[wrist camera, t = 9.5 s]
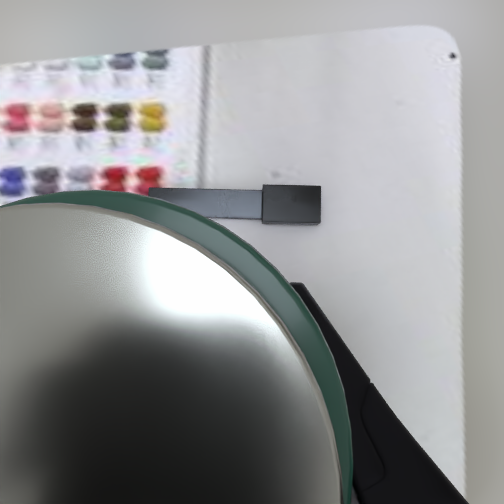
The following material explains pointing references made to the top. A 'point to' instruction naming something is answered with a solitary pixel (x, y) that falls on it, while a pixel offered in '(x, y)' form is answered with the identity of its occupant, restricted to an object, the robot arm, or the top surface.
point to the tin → (158, 363)
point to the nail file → (250, 203)
